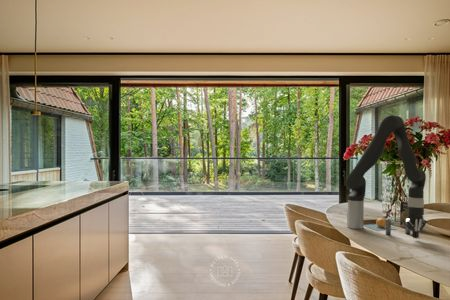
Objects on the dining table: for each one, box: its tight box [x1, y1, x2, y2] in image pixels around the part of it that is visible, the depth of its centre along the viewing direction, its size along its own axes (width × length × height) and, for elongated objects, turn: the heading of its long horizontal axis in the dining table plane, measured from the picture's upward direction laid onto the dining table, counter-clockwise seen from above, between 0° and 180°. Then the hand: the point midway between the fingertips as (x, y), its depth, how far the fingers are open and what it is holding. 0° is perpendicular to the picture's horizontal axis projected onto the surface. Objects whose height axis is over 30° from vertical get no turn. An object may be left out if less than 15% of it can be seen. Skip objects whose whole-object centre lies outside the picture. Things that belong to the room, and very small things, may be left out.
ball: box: [376, 217, 386, 228], centre depth 205 cm, size 6×6×6 cm
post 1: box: [385, 218, 392, 236], centre depth 188 cm, size 3×3×9 cm
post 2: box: [404, 218, 412, 235], centre depth 190 cm, size 3×3×9 cm
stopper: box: [363, 218, 378, 225], centre depth 216 cm, size 2×18×2 cm, turn 102°
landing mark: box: [363, 224, 397, 232], centre depth 206 cm, size 14×14×1 cm
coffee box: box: [399, 200, 409, 228], centre depth 206 cm, size 9×6×16 cm
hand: (415, 237), depth 176 cm, fingers closed
